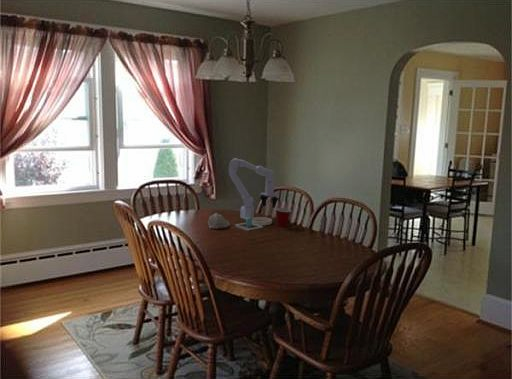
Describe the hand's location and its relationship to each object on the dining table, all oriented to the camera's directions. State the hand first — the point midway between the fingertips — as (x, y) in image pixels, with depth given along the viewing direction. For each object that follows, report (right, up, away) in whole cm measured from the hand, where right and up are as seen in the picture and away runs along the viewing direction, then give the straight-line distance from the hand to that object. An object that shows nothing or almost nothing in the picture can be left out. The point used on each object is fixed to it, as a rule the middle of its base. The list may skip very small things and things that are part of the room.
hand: (269, 206), depth 325 cm
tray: (-14, -13, -22) cm, 29 cm away
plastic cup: (+9, -13, -17) cm, 23 cm away
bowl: (-6, -11, -10) cm, 16 cm away
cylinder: (-14, -12, -22) cm, 29 cm away
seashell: (-34, -12, -20) cm, 42 cm away
